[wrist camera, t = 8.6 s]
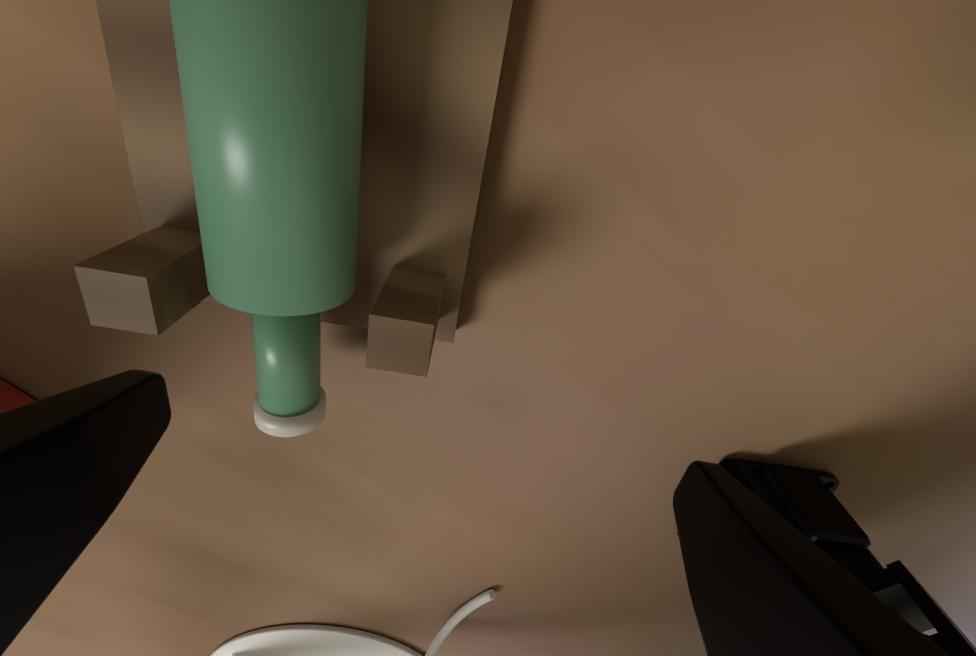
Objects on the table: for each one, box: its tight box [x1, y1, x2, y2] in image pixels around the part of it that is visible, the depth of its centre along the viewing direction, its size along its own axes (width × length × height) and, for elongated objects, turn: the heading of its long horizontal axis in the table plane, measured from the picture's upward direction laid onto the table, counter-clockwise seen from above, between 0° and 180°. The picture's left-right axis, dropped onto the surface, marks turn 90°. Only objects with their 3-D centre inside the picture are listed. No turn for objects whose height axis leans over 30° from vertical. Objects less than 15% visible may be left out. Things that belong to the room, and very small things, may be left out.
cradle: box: [74, 0, 513, 377], centre depth 13 cm, size 16×12×5 cm
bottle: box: [169, 0, 368, 437], centre depth 14 cm, size 17×4×4 cm, turn 169°
